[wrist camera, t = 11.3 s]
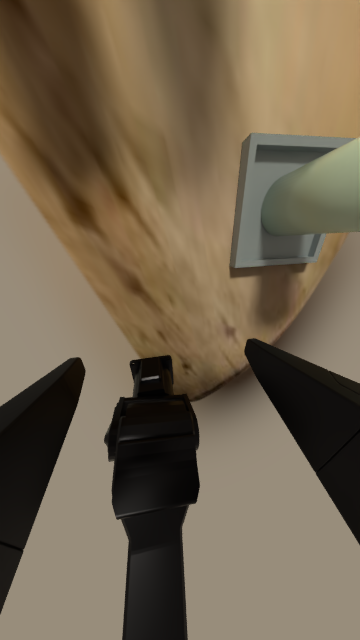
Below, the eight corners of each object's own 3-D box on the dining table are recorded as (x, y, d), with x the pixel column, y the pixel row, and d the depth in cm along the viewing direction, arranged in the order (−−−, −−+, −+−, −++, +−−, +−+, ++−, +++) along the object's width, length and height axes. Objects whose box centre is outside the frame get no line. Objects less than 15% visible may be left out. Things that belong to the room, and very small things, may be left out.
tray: (306, 261, 22) (316, 262, 20) (229, 266, 20) (235, 267, 19) (342, 146, 16) (359, 138, 15) (242, 142, 15) (251, 132, 14)
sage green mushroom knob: (301, 240, 20) (482, 235, 9) (252, 241, 19) (390, 238, 8) (322, 168, 16) (633, 32, 6) (264, 165, 15) (515, -4, 5)
